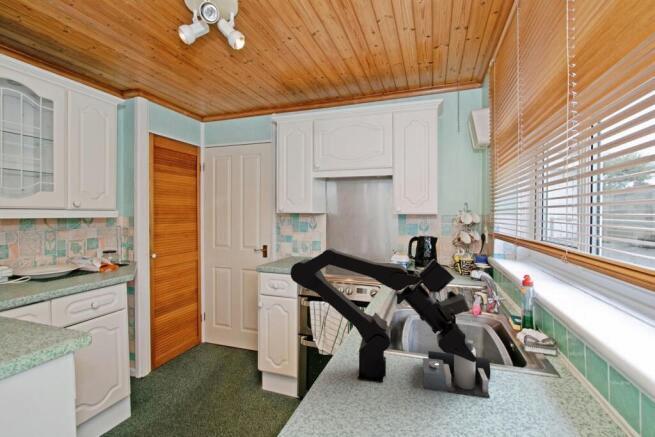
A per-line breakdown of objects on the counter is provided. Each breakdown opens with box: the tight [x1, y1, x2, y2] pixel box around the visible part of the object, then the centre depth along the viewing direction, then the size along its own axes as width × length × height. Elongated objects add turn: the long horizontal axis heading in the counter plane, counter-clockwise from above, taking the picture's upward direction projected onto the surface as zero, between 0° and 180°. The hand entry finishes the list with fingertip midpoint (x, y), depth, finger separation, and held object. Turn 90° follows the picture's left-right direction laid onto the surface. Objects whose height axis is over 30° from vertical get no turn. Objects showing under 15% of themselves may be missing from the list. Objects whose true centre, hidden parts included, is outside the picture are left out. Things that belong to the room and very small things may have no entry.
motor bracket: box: [422, 357, 491, 399], centre depth 78 cm, size 15×8×5 cm, turn 75°
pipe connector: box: [427, 350, 491, 380], centre depth 86 cm, size 12×5×15 cm
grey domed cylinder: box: [453, 337, 477, 389], centre depth 77 cm, size 5×5×11 cm
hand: (470, 352), depth 77 cm, fingers open, 9 cm apart
